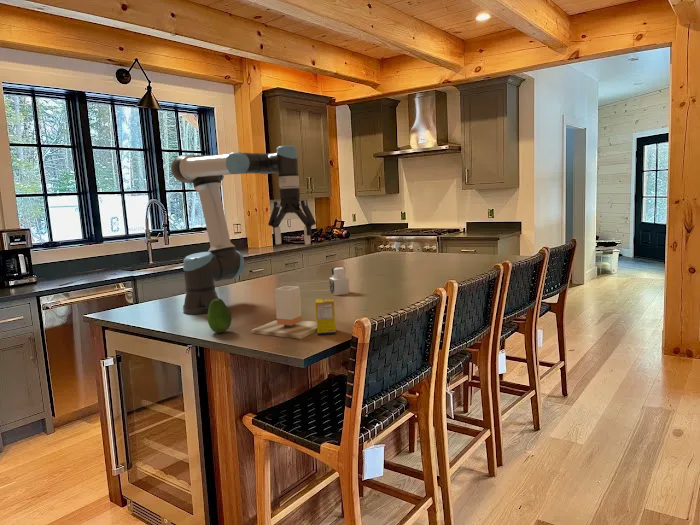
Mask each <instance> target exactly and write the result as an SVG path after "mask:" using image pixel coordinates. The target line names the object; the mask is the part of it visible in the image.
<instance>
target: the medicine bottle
mask: <svg viewBox="0 0 700 525" xmlns="http://www.w3.org/2000/svg"><path fill="white" fill-rule="evenodd" d="M349 279H350V278H348V277H347V276H346V267H344V266H335V267H332V268H331V277H329V291H330V292H329V293H330V294H332V295H333V296H340V295H341V296H342V295H349V294H350V283H349V282H350V281H349Z"/></svg>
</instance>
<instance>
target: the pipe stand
mask: <svg viewBox="0 0 700 525" xmlns="http://www.w3.org/2000/svg"><path fill="white" fill-rule="evenodd" d="M314 333H317V321H312V320H311V321H309V320H302V321H301V322H299V323H297V324H294V325H292V326H291V325H281V324H277V319H276V320H273V321H270V322H267V323H265V324H263V325H259V326H258V327H255V328H253V329H251V334H256V335H265V336H274V337H282V338H293V339H299V340H300V339H303V338H306V337H307V336H310V335H311V334H314Z"/></svg>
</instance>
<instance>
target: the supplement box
mask: <svg viewBox="0 0 700 525" xmlns="http://www.w3.org/2000/svg"><path fill="white" fill-rule="evenodd" d="M334 298H335V297H330V298H316V299H315V316H316V319H315V320H316V322H317V331H316V333H317V336H324V335H336V330H337V329H336V316H335V315H336V313H335V300H334Z"/></svg>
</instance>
